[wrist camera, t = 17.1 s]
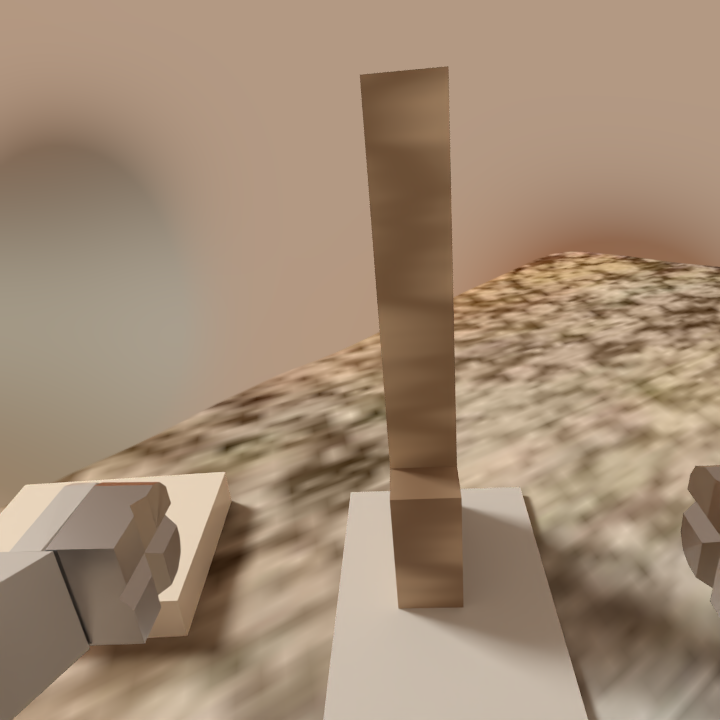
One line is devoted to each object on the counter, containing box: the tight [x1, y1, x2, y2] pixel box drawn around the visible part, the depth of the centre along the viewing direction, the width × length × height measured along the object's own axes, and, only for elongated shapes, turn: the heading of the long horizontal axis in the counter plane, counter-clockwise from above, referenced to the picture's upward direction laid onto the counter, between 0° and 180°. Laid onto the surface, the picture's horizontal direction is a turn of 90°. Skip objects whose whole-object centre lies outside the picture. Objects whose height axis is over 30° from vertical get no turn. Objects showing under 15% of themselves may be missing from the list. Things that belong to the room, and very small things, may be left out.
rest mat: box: [323, 487, 588, 720], centre depth 23 cm, size 8×12×1 cm, turn 176°
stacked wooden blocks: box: [360, 67, 463, 608], centre depth 21 cm, size 2×6×18 cm, turn 177°
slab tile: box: [0, 472, 231, 638], centre depth 26 cm, size 2×8×10 cm
